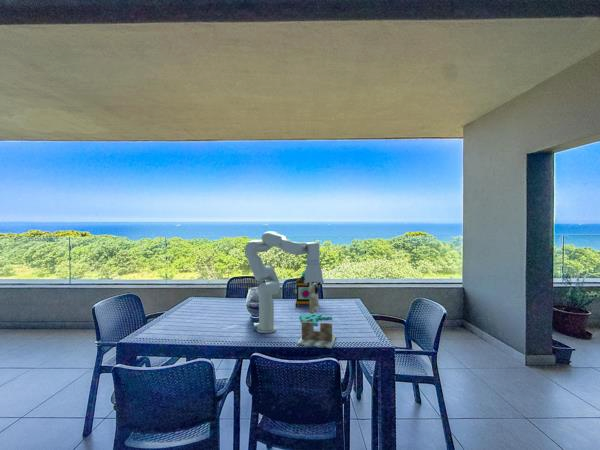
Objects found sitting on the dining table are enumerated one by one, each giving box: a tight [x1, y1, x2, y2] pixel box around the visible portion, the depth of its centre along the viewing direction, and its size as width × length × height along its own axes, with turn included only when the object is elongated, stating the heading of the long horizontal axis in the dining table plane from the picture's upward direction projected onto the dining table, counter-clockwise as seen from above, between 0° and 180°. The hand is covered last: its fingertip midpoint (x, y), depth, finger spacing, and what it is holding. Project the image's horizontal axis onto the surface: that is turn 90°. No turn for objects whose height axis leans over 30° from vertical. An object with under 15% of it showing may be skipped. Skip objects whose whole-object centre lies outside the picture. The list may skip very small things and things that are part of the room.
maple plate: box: [309, 283, 319, 314], centre depth 194 cm, size 2×16×16 cm, turn 166°
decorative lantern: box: [293, 270, 316, 308], centre depth 277 cm, size 20×20×30 cm
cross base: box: [296, 321, 337, 349], centre depth 192 cm, size 20×18×11 cm
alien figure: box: [298, 313, 333, 327], centre depth 235 cm, size 20×2×20 cm
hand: (314, 293), depth 194 cm, fingers closed on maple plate, 2 cm apart
